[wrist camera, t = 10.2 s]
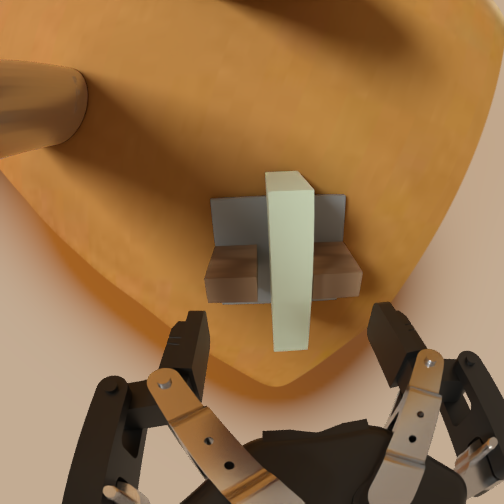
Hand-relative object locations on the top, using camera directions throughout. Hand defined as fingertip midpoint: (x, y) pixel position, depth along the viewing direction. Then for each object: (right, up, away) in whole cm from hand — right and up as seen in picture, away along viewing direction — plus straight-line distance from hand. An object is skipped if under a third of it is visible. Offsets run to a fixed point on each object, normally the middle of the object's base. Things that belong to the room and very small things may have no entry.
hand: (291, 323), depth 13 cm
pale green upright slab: (+1, +4, +15) cm, 16 cm away
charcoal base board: (+1, +3, +16) cm, 17 cm away
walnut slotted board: (+1, +3, +16) cm, 17 cm away
